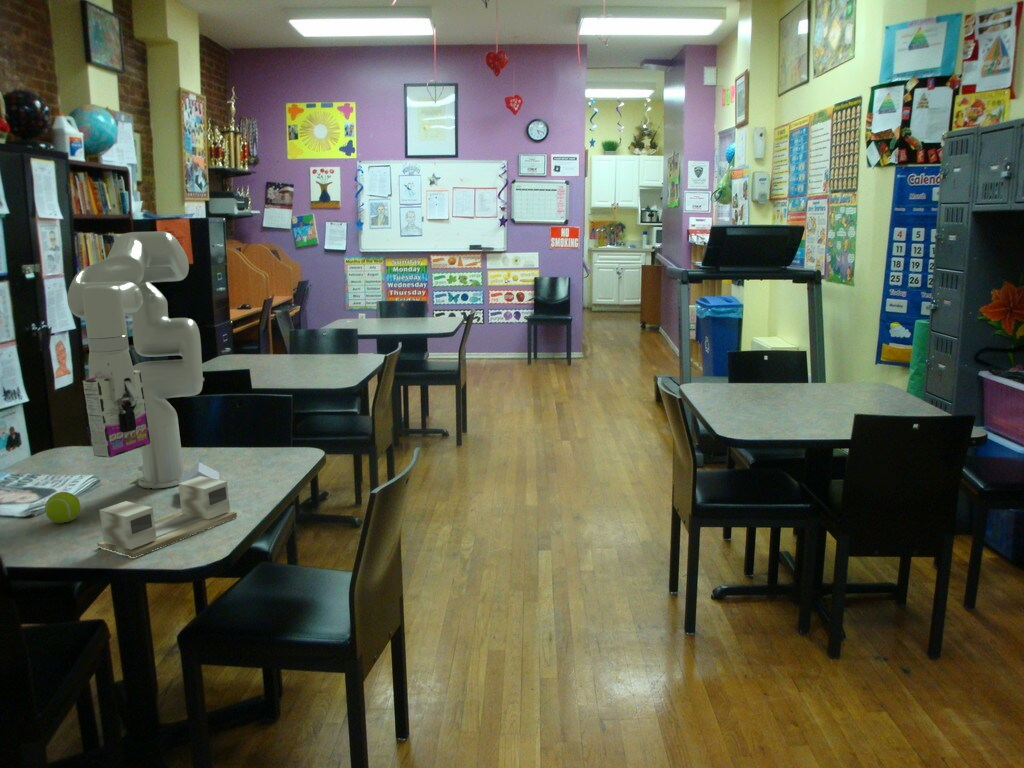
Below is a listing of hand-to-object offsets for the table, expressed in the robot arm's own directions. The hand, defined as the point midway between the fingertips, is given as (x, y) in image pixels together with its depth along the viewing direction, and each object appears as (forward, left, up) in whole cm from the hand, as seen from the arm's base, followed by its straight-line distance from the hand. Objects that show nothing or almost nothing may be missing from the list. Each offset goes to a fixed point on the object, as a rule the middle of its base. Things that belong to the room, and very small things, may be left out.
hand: (119, 428), depth 178 cm
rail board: (+7, +4, -23) cm, 25 cm away
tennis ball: (-21, -3, -24) cm, 32 cm away
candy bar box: (0, 0, -5) cm, 5 cm away
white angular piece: (-8, +24, -24) cm, 35 cm away
